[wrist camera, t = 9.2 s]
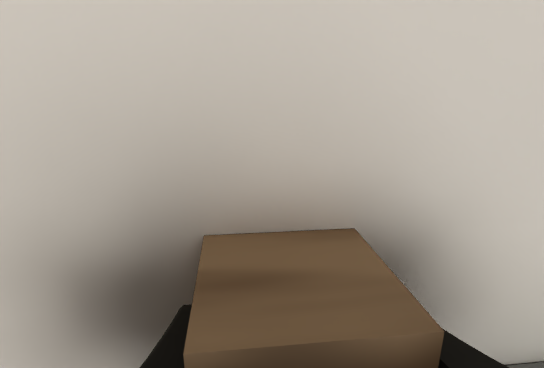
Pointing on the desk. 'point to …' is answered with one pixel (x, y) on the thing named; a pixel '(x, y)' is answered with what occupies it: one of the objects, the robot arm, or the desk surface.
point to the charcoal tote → (528, 365)
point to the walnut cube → (304, 306)
